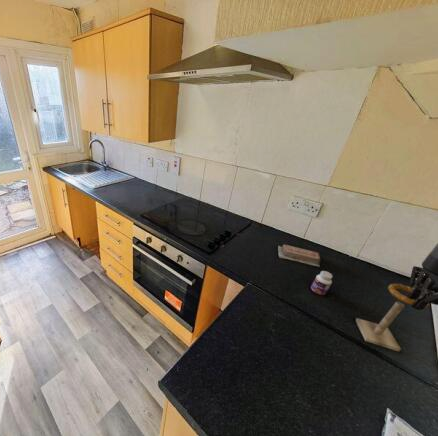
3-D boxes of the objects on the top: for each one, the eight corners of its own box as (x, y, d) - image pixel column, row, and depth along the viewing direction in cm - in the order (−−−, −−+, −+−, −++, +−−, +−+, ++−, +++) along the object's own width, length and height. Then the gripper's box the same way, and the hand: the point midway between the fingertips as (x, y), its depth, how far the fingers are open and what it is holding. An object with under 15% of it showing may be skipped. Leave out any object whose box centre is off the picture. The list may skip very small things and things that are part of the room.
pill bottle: (307, 288, 98) (316, 271, 93) (315, 285, 100) (324, 268, 95) (319, 297, 93) (329, 279, 89) (327, 294, 95) (338, 277, 91)
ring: (416, 292, 72) (419, 288, 71) (434, 312, 65) (438, 308, 64) (381, 283, 75) (384, 279, 74) (395, 302, 68) (398, 297, 67)
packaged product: (319, 250, 116) (323, 260, 108) (315, 257, 119) (319, 268, 110) (280, 240, 123) (281, 250, 114) (277, 248, 125) (278, 257, 117)
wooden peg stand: (384, 329, 81) (410, 298, 74) (398, 352, 74) (428, 320, 67) (354, 320, 84) (376, 289, 77) (364, 341, 76) (389, 309, 69)
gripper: (496, 279, 52) (446, 328, 60) (451, 248, 64) (415, 293, 72) (452, 270, 55) (410, 318, 63) (417, 241, 66) (385, 285, 74)
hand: (413, 304), depth 67 cm, fingers closed on ring, 2 cm apart
